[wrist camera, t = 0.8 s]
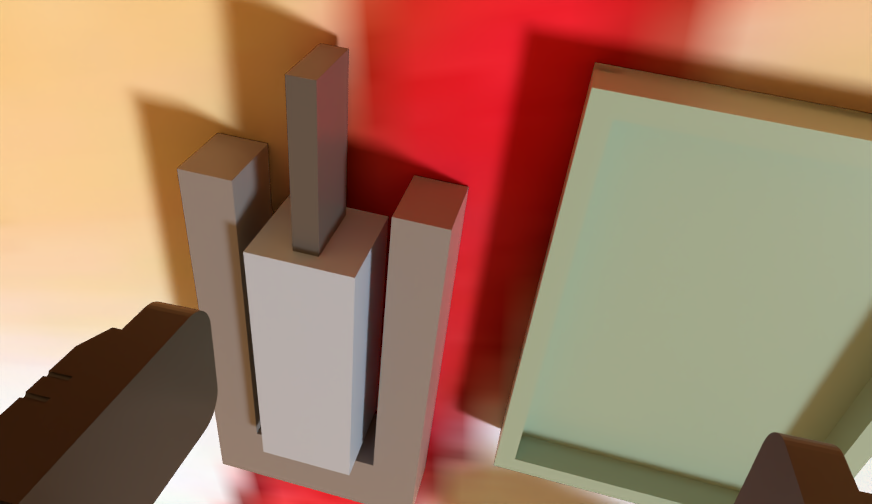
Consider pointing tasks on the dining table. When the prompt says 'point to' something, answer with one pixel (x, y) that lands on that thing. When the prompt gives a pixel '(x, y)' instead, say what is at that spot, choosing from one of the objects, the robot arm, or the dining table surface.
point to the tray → (697, 292)
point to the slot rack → (402, 334)
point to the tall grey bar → (317, 284)
